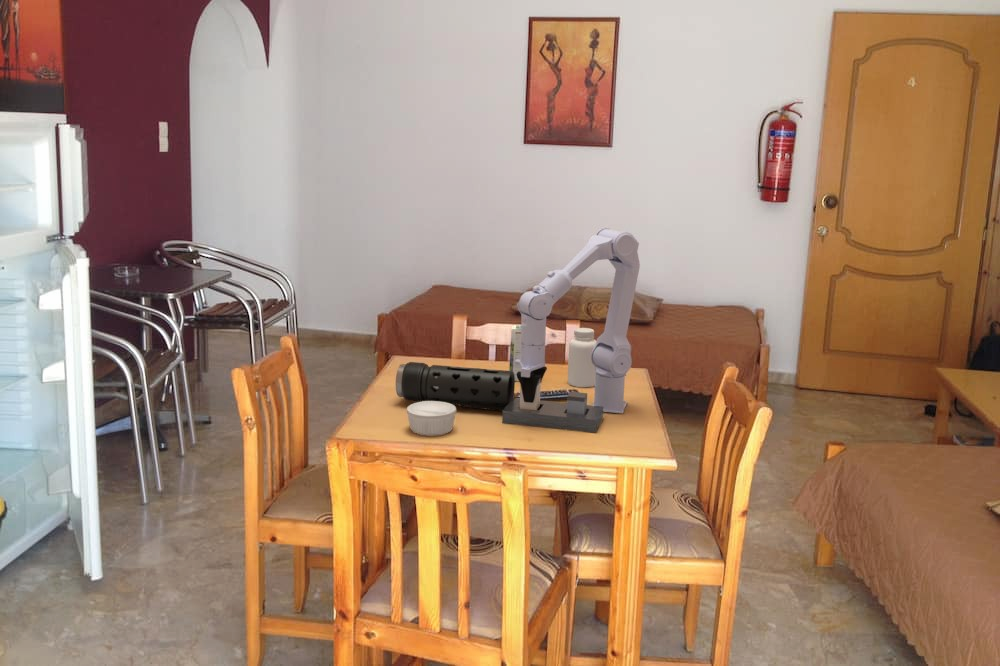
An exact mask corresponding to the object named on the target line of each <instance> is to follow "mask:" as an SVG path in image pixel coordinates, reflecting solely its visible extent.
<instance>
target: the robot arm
mask: <svg viewBox="0 0 1000 666" xmlns="http://www.w3.org/2000/svg"><path fill="white" fill-rule="evenodd" d="M639 245H640V243H639V242H638V240H637V239H636V237H635V236H634V235H633V234H632V233H630V232H628V231H620V230H615V229H611V228H609V227H608V228H607V227H604V228H600V229H599V230H598V231H597V232H596V233H595V234H593V235H592V236H591V237H590V238H589V240H588V242H587V244H586V245H585V246H584V247H583V248H582V249H581V250H580V251H579V252H578V253H577V254H576V255H575V256H574V257H573V258H572V259H571V260H570V261H569V262H568V263H567V264H566V265H565V266H564V267H563V268H562V269H554V270H549V271H548V272H547V274H546V275H547V276H546V277H545V278H544V279H543V280H541V282H540V283H538V284H537V285H534V286H533V287H532V291H531V290H529V291H526V292H524V293H523V294H522V295H521V296H520V298H519V300H518V302H517V303H516V306H517V309H518V311H519V313H520V315H521V316H520V318H521V319H520V320H521V324H520V325H521V352H520V359H517V360H516V361H515V364H519V365H520V367H521V372H520V371H518V372H517V378H518V380H519V382H518V383H519V385H521V388H522V393H523V399H524V402H529V403H533V401H534V398H535V393H536V388H537V384H538V381H539V379H540V378H541V382H542V380H543V379H544V376H545V373H546V371H547V370H548V367H547V366H546V360H545V358H546V357H545V356H546V333H547V332H546V331H547V330H546V329H547V327H546V326H547V317H549V316H550V314H551V312H552V310H553V307H554V305H555V303H556V302H558V301H559V300H560V299H561V298H562V297H563V296H564V295H566V293H567V292H568V291H570V289H572V286H573V280H574V279H576V278H577V277H579V275H581V274H582V273H584V271H586V270H587V269H589V268H590V267H591V266H592V265H593V264H594V263H596V262H597V261H601V260H608V261H609V262H610V264H611V265H612V267H613V268H614V269H615V272H614V277H613V282H612V287H611V294H610V299H609V303H608V304H609V305H608V309H607V313H606V320H605V326H604V331H603V333H601V334H600V335H599V336H598V337H597V338H596V341H597V342H596V345H595V347H594V348H593V350H592V352H591V362H592V363H593V365H594V366H595V371H596V374H595V386H594V394H593V395H594V398H593V403H592V404H591V406H602V407H604V409H603V413H612V414H614V413H615V414H623V413H624V411H625V408H626V407H627V405H628V401H627V400H626V401H625V400H624V399H625V398H624V397H625V384H626V383H625V382H626V381H625V379H626V377H627V373H628V372H629V371H630V370H631V366H632V365H633V363H632V362H633V360H632V354H631V352H632V345H631V343H630V342H629V340H628V337H627V334H628V331H629V330H628V329H629V324H630V319H631V313H632V309H633V308H632V307H633V304H634V297H635V293H636V289H637V288H636V287H637V283H638V278H639V277H638V276H639V274H640V273H639V272H640V267H641V264H640V259H639V253H638V250H639Z"/></svg>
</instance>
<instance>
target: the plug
mask: <svg viewBox="0 0 1000 666" xmlns="http://www.w3.org/2000/svg"><path fill="white" fill-rule="evenodd" d="M541 384H542V381H541V378H540V379H539V381H538V384H537V388H536V393H535V398H534V401H533V403H529V402H524V399H523V393H522V388H521V385H520V384H519V385H520V386H519V390H520V393H519V398H520V409H529V410H537V409H538V408H539V407H540V400H541V388H542V387H541V386H542V385H541Z"/></svg>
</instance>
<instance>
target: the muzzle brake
mask: <svg viewBox="0 0 1000 666" xmlns="http://www.w3.org/2000/svg"><path fill="white" fill-rule="evenodd" d="M515 383H516V381H515V376H514V372H513V371H509V370H502V369H501V370H500V369H490V368H477V367H466V366H465V367H464V366H450V365H439V364H438V365H437V364H432V365H431V366H429V365H428V364H426V363H425V362H417V361H415V362H414V361H409V362H407V363H401V364H399V365H398V368H397V371H396V376H395V393H396V395H397V397H398V398H403V400H405V401H412V402H423V401H440V402H446V403H450V404H452V405H459V406H460V407H461V408H464V407H469V408H471V409H482V410H491V411H493V410H494V411H503V409H504V408H505V407H506V406H507V405H508V404H509V403H510V402H511V400H512V399H513V398H515V389H516V388H515V387H516V386H515V385H516V384H515Z"/></svg>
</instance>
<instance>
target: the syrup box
mask: <svg viewBox="0 0 1000 666" xmlns="http://www.w3.org/2000/svg"><path fill="white" fill-rule="evenodd" d="M520 352H521V324H517V325H515V324H514V325H512V326H511V331H510V349H509V366H508V367H509V369H508V371H513V372H514V376H515V382H518V383H520V382H519V380H518V378H517V372H518V371H520V372H521V367H520V365H519V364H515V361H516V360H517V359H520Z"/></svg>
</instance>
